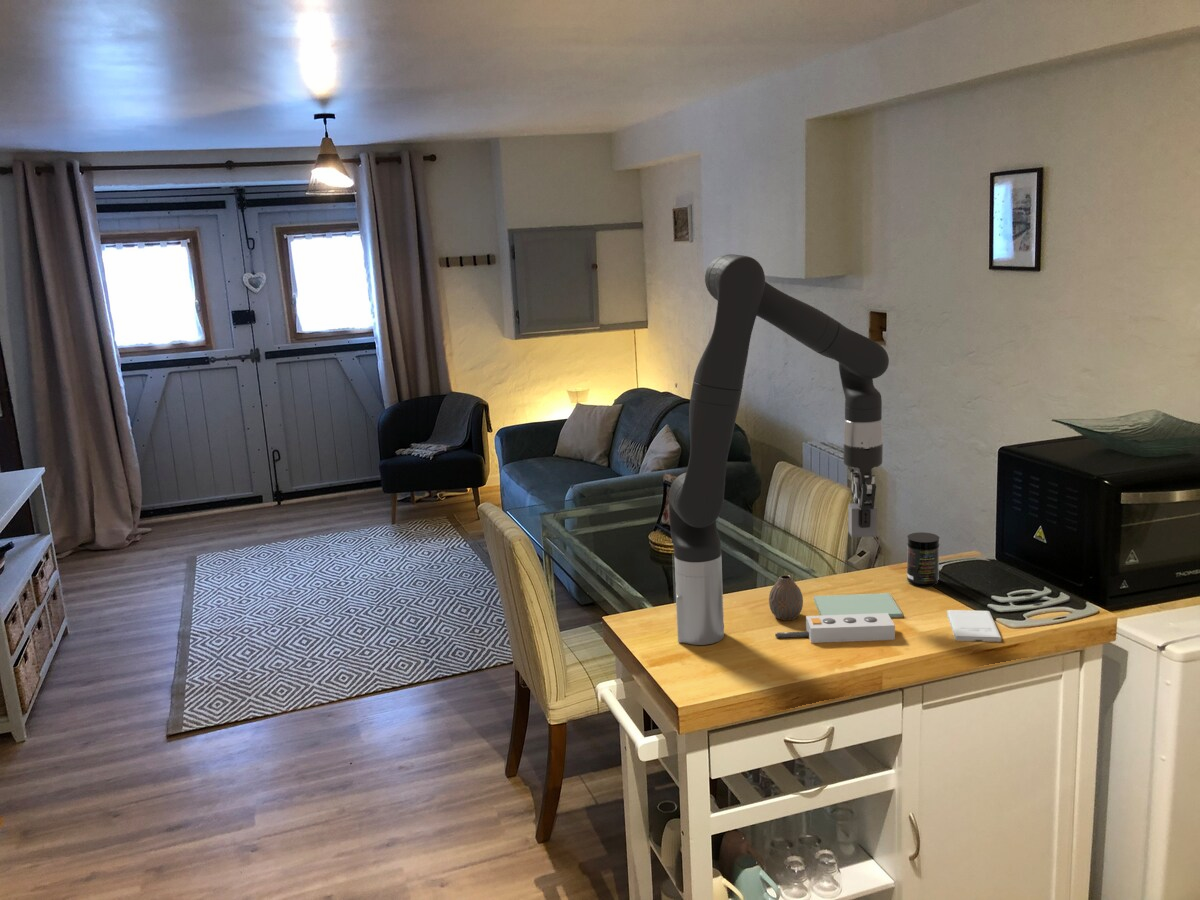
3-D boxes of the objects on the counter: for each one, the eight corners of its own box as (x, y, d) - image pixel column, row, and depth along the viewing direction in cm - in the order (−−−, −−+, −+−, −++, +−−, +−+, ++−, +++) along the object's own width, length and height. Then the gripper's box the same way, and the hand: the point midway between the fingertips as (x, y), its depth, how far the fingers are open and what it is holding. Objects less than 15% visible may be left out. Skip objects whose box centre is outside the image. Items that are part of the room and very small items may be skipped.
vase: (800, 624, 200) (800, 584, 198) (766, 622, 202) (765, 581, 200) (805, 611, 206) (804, 571, 204) (772, 609, 208) (771, 570, 206)
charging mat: (822, 620, 201) (822, 616, 201) (813, 599, 212) (813, 596, 212) (902, 617, 200) (902, 613, 200) (889, 596, 211) (889, 593, 211)
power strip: (777, 644, 192) (776, 628, 191) (773, 631, 198) (773, 615, 197) (894, 639, 190) (895, 623, 190) (887, 627, 196) (887, 611, 195)
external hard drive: (989, 618, 199) (1001, 644, 187) (946, 617, 201) (955, 643, 189) (989, 610, 198) (1001, 636, 187) (946, 609, 200) (955, 635, 188)
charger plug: (851, 537, 199) (851, 508, 198) (848, 531, 203) (848, 503, 201) (876, 536, 199) (877, 507, 197) (873, 530, 202) (873, 502, 201)
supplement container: (945, 584, 216) (946, 538, 213) (920, 590, 214) (920, 544, 211) (925, 574, 222) (925, 530, 220) (900, 580, 220) (900, 535, 217)
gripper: (837, 434, 203) (837, 514, 207) (850, 450, 189) (850, 535, 193) (874, 432, 203) (874, 512, 207) (890, 448, 189) (889, 534, 193)
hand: (862, 523), depth 200 cm, fingers closed on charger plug, 3 cm apart
